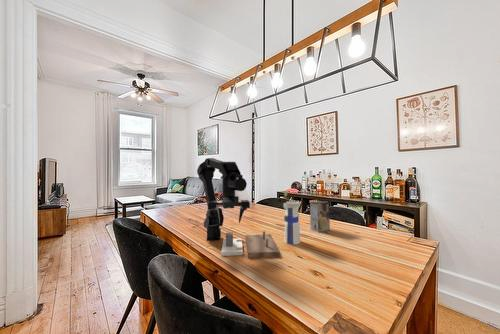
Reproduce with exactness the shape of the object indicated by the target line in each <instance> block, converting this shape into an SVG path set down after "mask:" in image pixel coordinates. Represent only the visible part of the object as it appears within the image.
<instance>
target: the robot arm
mask: <svg viewBox="0 0 500 334" xmlns="http://www.w3.org/2000/svg"><path fill="white" fill-rule="evenodd" d="M216 169H217V170H218V172H219V173H220V174H221V176H220V180H222V182H221V183H222V198H221V202H218V200H217V198H216V193H215V189H214V188H215V187H214V184H213V178H214V175H215V171H216ZM196 173H197V175H198V179H199V180H200V181H201V182H202V184H203V190H204V195H205V200H206V204H207V205H206V206H207V211H206V214H205V216H206V217H205V219H204V220H203V227H204V228H205V229H206V238H205V239H206V241H220V239H221V237H222V232H221V230H222V228H221V227H222V226H223V225H224V220H225V217H224V214H223V209H235V207H239V214H238V215H239V216H238V223H239V224H241V220H242V218H243V217H242V216H243V215H244V212H245V211H246V210H247V209H250V207H251V202H250V200H248V199H241V200H240V199H239V195H237V196H236V192H243V191H245V190H246V188H247V184H248V183H247V180H246V179H245V178H243V174H241V170H240V169H239V167H238V164H237V163H236V161H223V160H220V159H217V158H214V157H211V158H210V157H209V158H205V159H204V161H203V162H201V163H200V164H199V165H198V167H197V170H196ZM239 200H240V201H239ZM221 207H222V208H221Z"/></svg>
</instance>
